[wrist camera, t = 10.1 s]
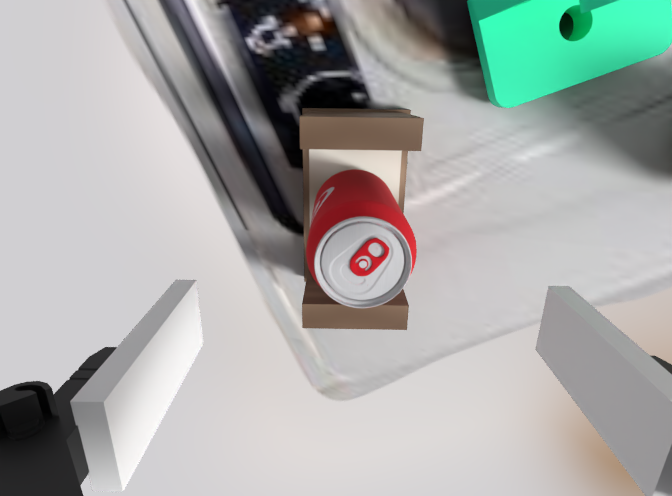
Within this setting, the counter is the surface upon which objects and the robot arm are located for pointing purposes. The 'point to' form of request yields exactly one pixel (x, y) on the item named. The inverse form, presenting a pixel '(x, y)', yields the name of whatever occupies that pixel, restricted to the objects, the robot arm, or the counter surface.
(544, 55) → the camera mount
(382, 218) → the beverage can
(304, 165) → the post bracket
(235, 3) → the counter surface
